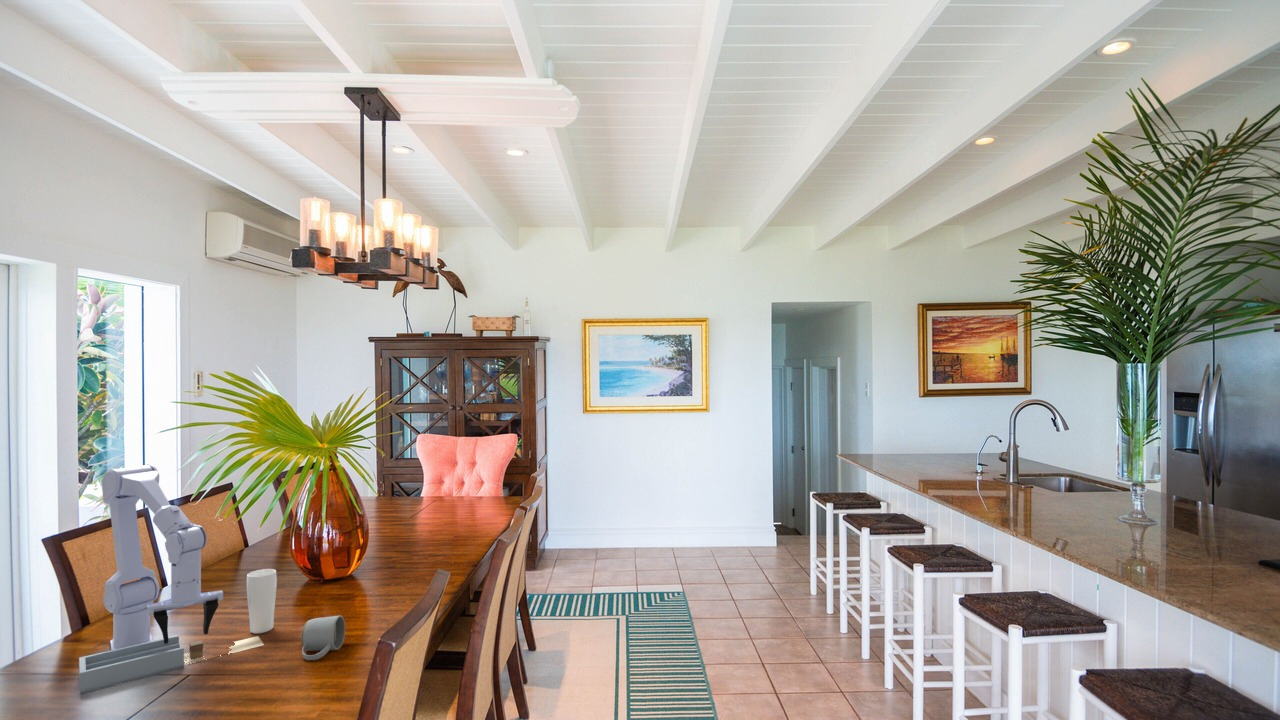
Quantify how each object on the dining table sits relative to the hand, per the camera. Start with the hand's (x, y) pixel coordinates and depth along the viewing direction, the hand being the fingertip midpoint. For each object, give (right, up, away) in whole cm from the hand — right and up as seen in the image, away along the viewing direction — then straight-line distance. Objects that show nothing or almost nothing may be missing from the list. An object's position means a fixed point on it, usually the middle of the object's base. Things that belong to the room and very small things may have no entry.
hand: (186, 637), depth 152 cm
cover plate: (+6, -6, +5) cm, 9 cm away
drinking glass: (+8, -5, +16) cm, 19 cm away
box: (-7, -5, -7) cm, 11 cm away
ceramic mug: (+30, -5, +4) cm, 31 cm away
